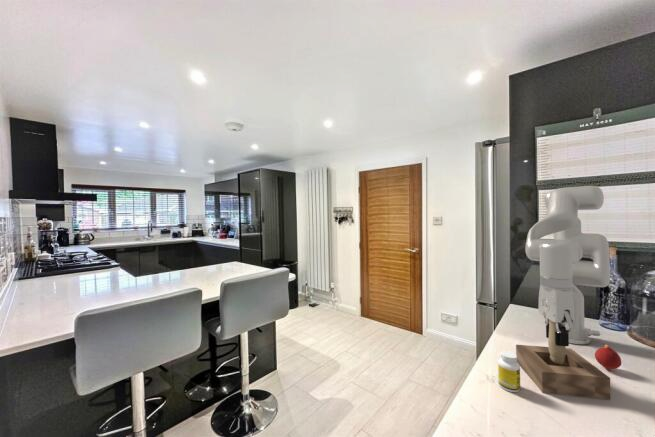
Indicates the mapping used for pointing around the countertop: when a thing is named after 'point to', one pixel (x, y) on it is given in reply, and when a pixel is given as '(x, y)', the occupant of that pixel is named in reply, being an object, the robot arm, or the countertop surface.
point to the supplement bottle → (509, 372)
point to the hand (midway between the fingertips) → (557, 341)
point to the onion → (608, 358)
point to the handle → (555, 351)
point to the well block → (563, 373)
